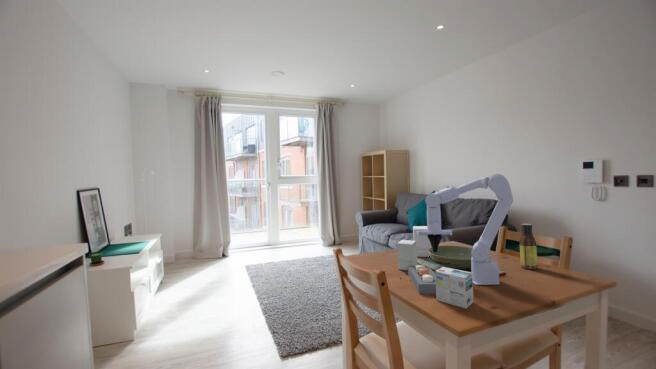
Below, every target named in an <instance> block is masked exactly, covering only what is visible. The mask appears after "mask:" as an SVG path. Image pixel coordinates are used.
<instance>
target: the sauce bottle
mask: <svg viewBox="0 0 656 369" xmlns="http://www.w3.org/2000/svg"><path fill="white" fill-rule="evenodd" d="M520 228H521V235H520V237H519V254H520V255H519V256H520V265H521V266H520V267H521V268H522V269H526V270H537V269H538V252H537V242H536V238H535V237H534V235H533V224H532V223H521V227H520Z"/></svg>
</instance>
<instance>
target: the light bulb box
mask: <svg viewBox="0 0 656 369" xmlns="http://www.w3.org/2000/svg"><path fill="white" fill-rule="evenodd" d="M434 273H435V274H436V293H435V297H436V298H435V300H436V301H439V302H441V303H445V304H449V305H452V306H456V307H458V308H463V309H468V308H469V307H470V306H471V305H473V303H474V283H473V277H472V272H471V271H466V270H460V269H455V268H451V267H447V266H442V267H440V268H439V269H436V270H435V272H434Z"/></svg>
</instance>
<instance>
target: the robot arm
mask: <svg viewBox="0 0 656 369" xmlns="http://www.w3.org/2000/svg"><path fill="white" fill-rule="evenodd" d="M488 188H489V189H490V190H491V191H492V192H493V193H494V195H495V196H496V198H497V202H496V204H495V207H494V209H493V211H492V213H491V214H490V217H489V219H488V221H487V223H486V224H485V227H484V229H483V232H482V234H481V235H480V237H479V239H478V240H477V241H476V242H474V244H473V245H472V246H473V247H472V249H471V251H470V255H471V257H470V261H471V262H470V264H471V267H470V268H471V269H470V270H471V271H470V272H472V277H473V285H476V286H483V285H484V286H486V285H490V286H492V285H501V283H500V267H499V263H498V262H497V260H496V259H492V258H491V257H490V252H491V247H492V245H493V243H494V241H495V239H496V236H497V234H498V233H499V230H500V228H501V226H502V224H503V222H504V220H505V218H506V216H507V214H508V212H509V210H510V208H511V206H512V205H513V202H514V197H513V193H512V190H511V186H510V182H509V181H508V179H507V178H506V177H505V175H504V174H503V175H502V174H500V173H495V174H492V175H487V176H483V177H480V178H476V179H474V180H472V181H470V182H467V183H464V184H461V185H459V186H453V185H446V186H445V188H442V189H440V190H435V191H434V192H432V193H429V194H427V195H426V197H425V199H424V200H425V201H424V202H425V204H426V226H427V230H422V231H417V236H426V235H427V237H428V239H429V241H430V243H431V246H432V253H438V250H439V245H440V243H441V241H442V240H443V236H448V235H449V236H453V231H452V230H451V229H442V213H441V212H442V211H441V204H443V205H444V204H446V203H448V202H451V201H455V200H457V199H459V196H460V195H461V194H464V193H467V192H470V191H474V190H476V189H485V190H486V189H488Z"/></svg>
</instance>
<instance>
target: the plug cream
mask: <svg viewBox="0 0 656 369" xmlns="http://www.w3.org/2000/svg"><path fill="white" fill-rule="evenodd" d="M423 282H433V276H432V275H428V274H426V275H423Z"/></svg>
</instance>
